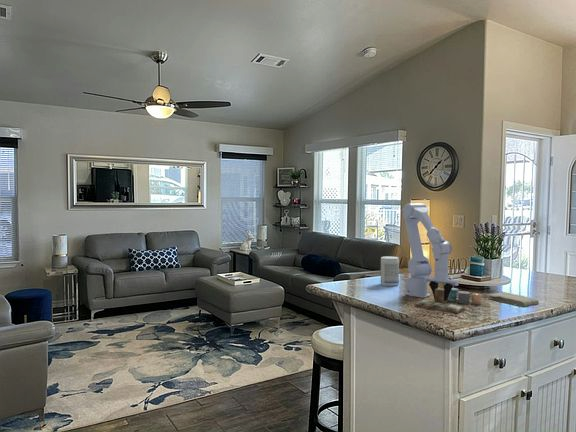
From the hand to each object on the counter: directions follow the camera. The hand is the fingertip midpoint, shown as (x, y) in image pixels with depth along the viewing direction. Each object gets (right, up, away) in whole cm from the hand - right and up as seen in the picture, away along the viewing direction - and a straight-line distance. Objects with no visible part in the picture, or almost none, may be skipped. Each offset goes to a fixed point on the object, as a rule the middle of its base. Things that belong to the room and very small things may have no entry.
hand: (440, 299), depth 190 cm
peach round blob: (+16, -2, 0) cm, 16 cm away
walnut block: (0, -1, 0) cm, 1 cm away
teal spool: (+7, -1, +6) cm, 9 cm away
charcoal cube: (+11, -2, +1) cm, 11 cm away
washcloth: (+34, -2, +4) cm, 34 cm away
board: (-4, -2, -9) cm, 10 cm away
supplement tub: (-13, 0, +40) cm, 42 cm away
